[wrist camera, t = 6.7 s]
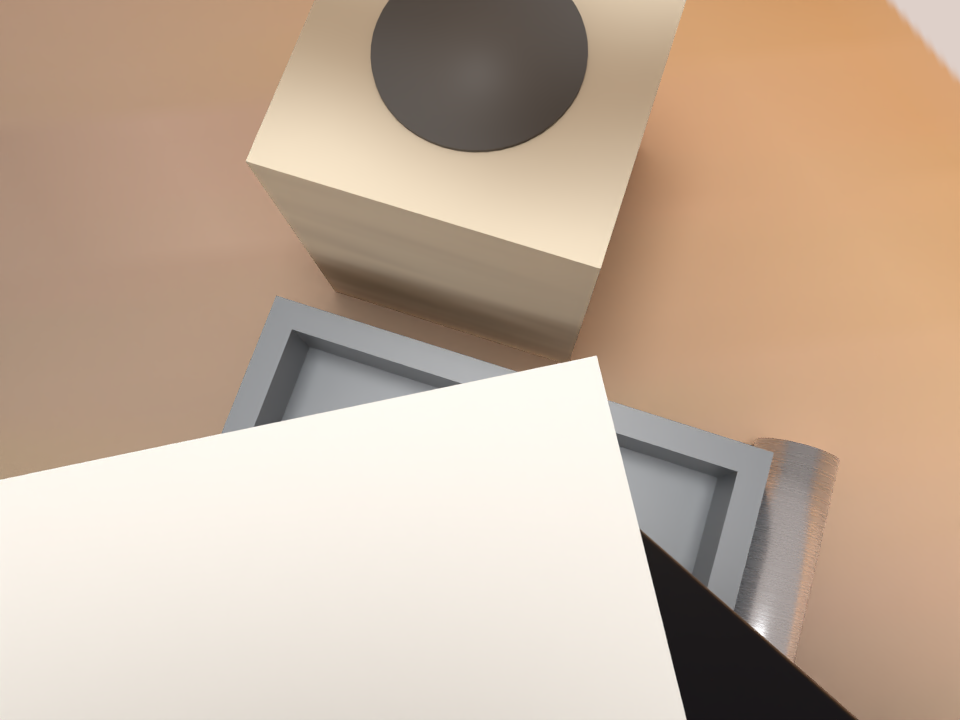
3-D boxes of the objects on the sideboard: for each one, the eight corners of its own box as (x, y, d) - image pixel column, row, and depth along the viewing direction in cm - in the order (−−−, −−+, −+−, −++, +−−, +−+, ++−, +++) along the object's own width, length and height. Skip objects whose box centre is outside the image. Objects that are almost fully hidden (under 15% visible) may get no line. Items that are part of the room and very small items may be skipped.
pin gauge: (619, 901, 16) (683, 908, 17) (680, 956, 15) (747, 960, 16) (738, 436, 18) (790, 460, 19) (803, 439, 17) (857, 467, 18)
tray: (608, 977, 16) (624, 1043, 14) (120, 787, 18) (66, 821, 15) (743, 462, 19) (773, 452, 16) (301, 322, 20) (276, 295, 18)
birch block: (567, 365, 19) (601, 266, 12) (335, 291, 20) (244, 158, 13) (637, 146, 21) (703, -55, 14) (416, 83, 21) (371, -140, 14)
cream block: (591, 751, 14) (864, 1421, 3) (308, 812, 14) (-380, 1703, 3) (535, 495, 15) (599, 352, 4) (272, 550, 15) (-338, 546, 4)
